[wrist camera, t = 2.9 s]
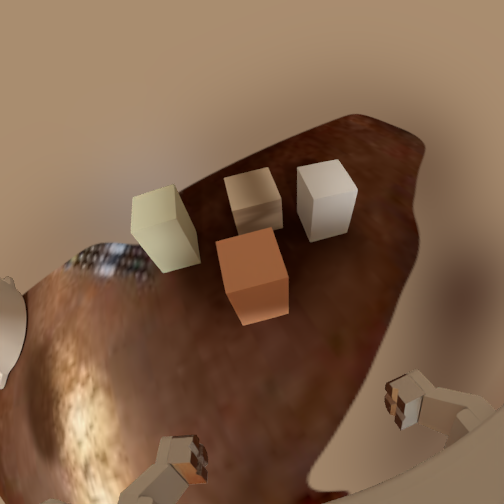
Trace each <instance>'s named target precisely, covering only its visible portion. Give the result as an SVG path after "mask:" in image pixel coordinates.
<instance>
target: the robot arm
mask: <svg viewBox="0 0 504 504" xmlns="http://www.w3.org/2000/svg"><path fill="white" fill-rule="evenodd" d="M25 331H26V307H25V302H24V299H23V297H22V295H21V294H20V292H18V291H17V290H16V288H15V284H14V281H13V279H12V278H10V277H9V276H7V277H5V278H4V279H1V278H0V389H3V388H4V386H5V383H6V380H7V376H8V374H9V372H10V370H11V369H12V368H13V366H14V365H15V363H16V361H17V359H18V357H19V355H20V352H21V349H22V346H23V342H24V337H25ZM385 390H386V391H387V394H386V395H385V405H386V408H387V410H388V412H389V414H390V415H393V416H395V423H396V424H397V425H398V427H399V428H400V430H403V429H405V428H407V427H409V426H411V425H413V424H415V423H417V422H418V424H420V425H423V426H425V427H427V428H430V429H432V430H435V431H437V432H440V433H442V434H445V435H447V436H448V439H447V442H446V444H445V446H444V450H442V451H441V452H439V453H438V454H436V455H434V456H432V457H431V458H429V459H427V460H426V461H424V462H422V463H420V464H418V465H417V466H415V467H413V468H411V469H409V470H407V471H405V472H403V473H401V474H399V475H397V476H395V477H393V478H391V479H388V480H386V481H384V482H382V483H379V484H377V485H375V486H372V487H370V488H367V489H365V490H362V491H359V492H357V493H354V494H351V495H348V496H345V497H343V498H339V499H336V500H333V501H330V502H327V503H323V504H504V404H503V405H502V406H501V407H500V408H499V409H498V410H497V411H496V410H495V409H494V408H493V407H492V406H491V405H490V404H489V403H488V402H487V401H486V400H485V399H484V398H483V397H481V396H479V395H473V394H468V393H463V392H459V391H454V390H449V389H445V388H441V387H438V388H435V387H434V386H433V385H432V384H431V383H430V382H429V380H428V379H427V378H426V377H424V375H423V374H422V373H421V372H420V371H419V370H417V369H415V370H413V371H411V372H409V373H407V374H404V375H402V376H400V377H398V378H396V379H394V380H392V381H390V382H388V383H386V385H385ZM207 464H208V456H207V452H206V449H205V447H204V446H203V445H202V444H200V443H199V438H198V437H197V435H184V436H169V437H162V438H161V440H160V444H159V449H158V453H157V458H156V463H155V464H152V465H151V466H150V467H149V468H148V469H147V470H146V471H145V472H144V473H142V474H141V475H140V476H139V477H138V478H137V479H136V480H135V481H134V482H133V483H132V484H130V485H129V486H128V487H127V488H126V489H125V490H124V491H123V492H121V493H120V497H119V501H118V504H175V503H176V502H177V501H178V499H179V498H180V497H181V495H182V494H183V493H184V491H185V490H186V489H187V487H188V486H189V485H188V484H202V483H207V473H208V471H207V470H206V469H205V466H206V465H207ZM41 504H70V503H67V502H64V501H61V500H58V499H49V500H46V501H44V502H43V503H41Z"/></svg>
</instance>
